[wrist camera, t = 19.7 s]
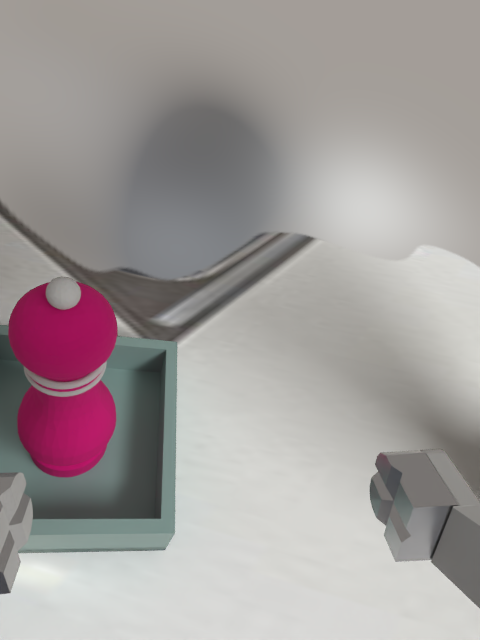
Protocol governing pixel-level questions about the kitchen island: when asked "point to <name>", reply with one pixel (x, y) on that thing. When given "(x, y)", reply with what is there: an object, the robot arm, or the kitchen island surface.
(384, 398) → the kitchen island surface
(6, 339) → the tote
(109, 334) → the pepper mill
